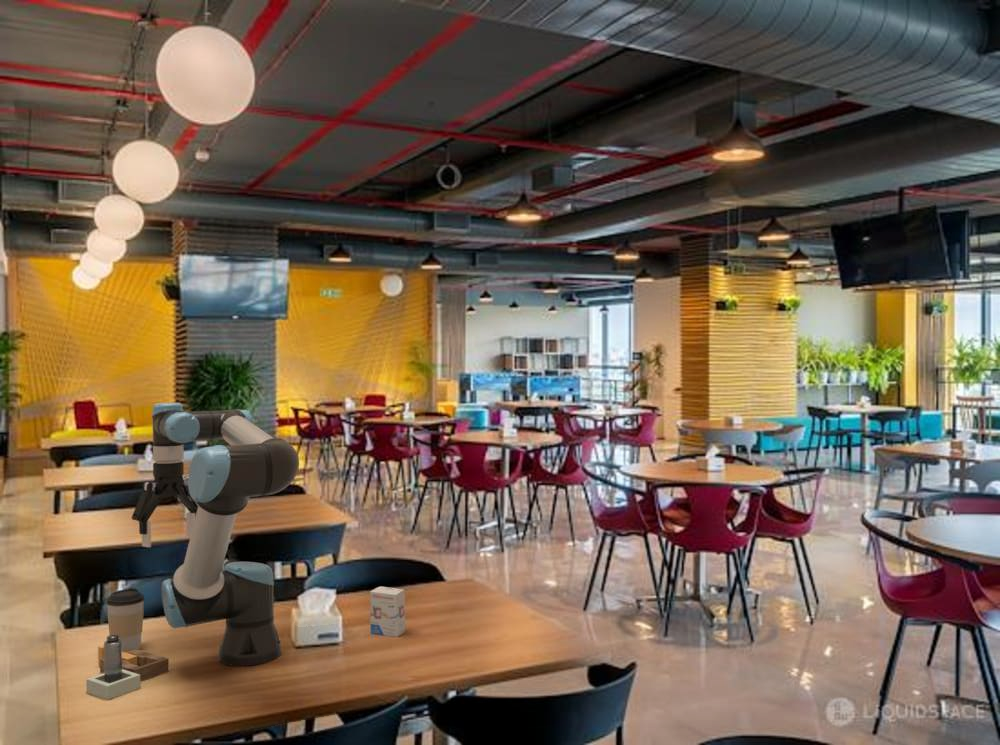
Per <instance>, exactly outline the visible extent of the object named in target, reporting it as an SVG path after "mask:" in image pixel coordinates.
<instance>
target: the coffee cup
mask: <svg viewBox="0 0 1000 745" xmlns="http://www.w3.org/2000/svg"><path fill="white" fill-rule="evenodd" d="M144 601H145V595H144V594H143V593H141V592H140V590H139V589H138V588H136V587H129V588H127V589H122V590H117V591H114V592H112V593H111V594H110V595H109V597H107V599H106V603H105V604H106V606H107V613H106V614H107V624H108V633H109V635H108V636H110V635H119V639H121V640H122V652H125V651H128V650H131V649H137V650H140V649H141V647H142V646H141V643H142V633H143V623H144V610H145V609H144Z"/></svg>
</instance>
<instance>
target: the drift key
mask: <svg viewBox="0 0 1000 745" xmlns="http://www.w3.org/2000/svg"><path fill="white" fill-rule="evenodd" d="M97 648H98V649H97V652H98V653H97V654H98V655H97V658H98V662H97V663H98V666H100V660H101V659H104V644H103V645H100V646H98V647H97ZM122 660H125V661H129V662H130V664H134V665H137V656H135V655H132V654H129V653H125V652H122Z"/></svg>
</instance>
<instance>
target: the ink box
mask: <svg viewBox="0 0 1000 745" xmlns="http://www.w3.org/2000/svg"><path fill="white" fill-rule="evenodd" d="M369 596H370V601H369V603H370V604H369V606H370V608H369V609H370V634H373V635H380V636H387V637H393V638H398V637H399V636H401V635H402V634H404V633H406V604H405V603H406V598H405V597H406V595H405V590H404V589H401V588H395V587H390V586H389V587H387V586H378V587H375V588H374V589H372V590H370V591H369Z"/></svg>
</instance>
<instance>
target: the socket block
mask: <svg viewBox="0 0 1000 745" xmlns="http://www.w3.org/2000/svg"><path fill="white" fill-rule="evenodd" d="M125 653H129V654H132V655H135V656H137V665H134V664H130V662H129V661H125V660H122V669H124V670H127V671H130V672H133V673H136V674H140V682H142V681H145V680H148V679H150V678H154V677H156V676H159V675H162V674H165V673H167V672H169V670H170V668H169V663H170V662H169V661H170V660H169V658H168V657H164V656H160V655H159V654H158V655H157V654H153V653H151V652H147V651H144V650H140V649H139V650H137V649H131V650H128V651H125ZM99 667H100V668H99V671H100V673H101V674H103V673H105V667H104V659H101V660H100V665H99Z"/></svg>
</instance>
